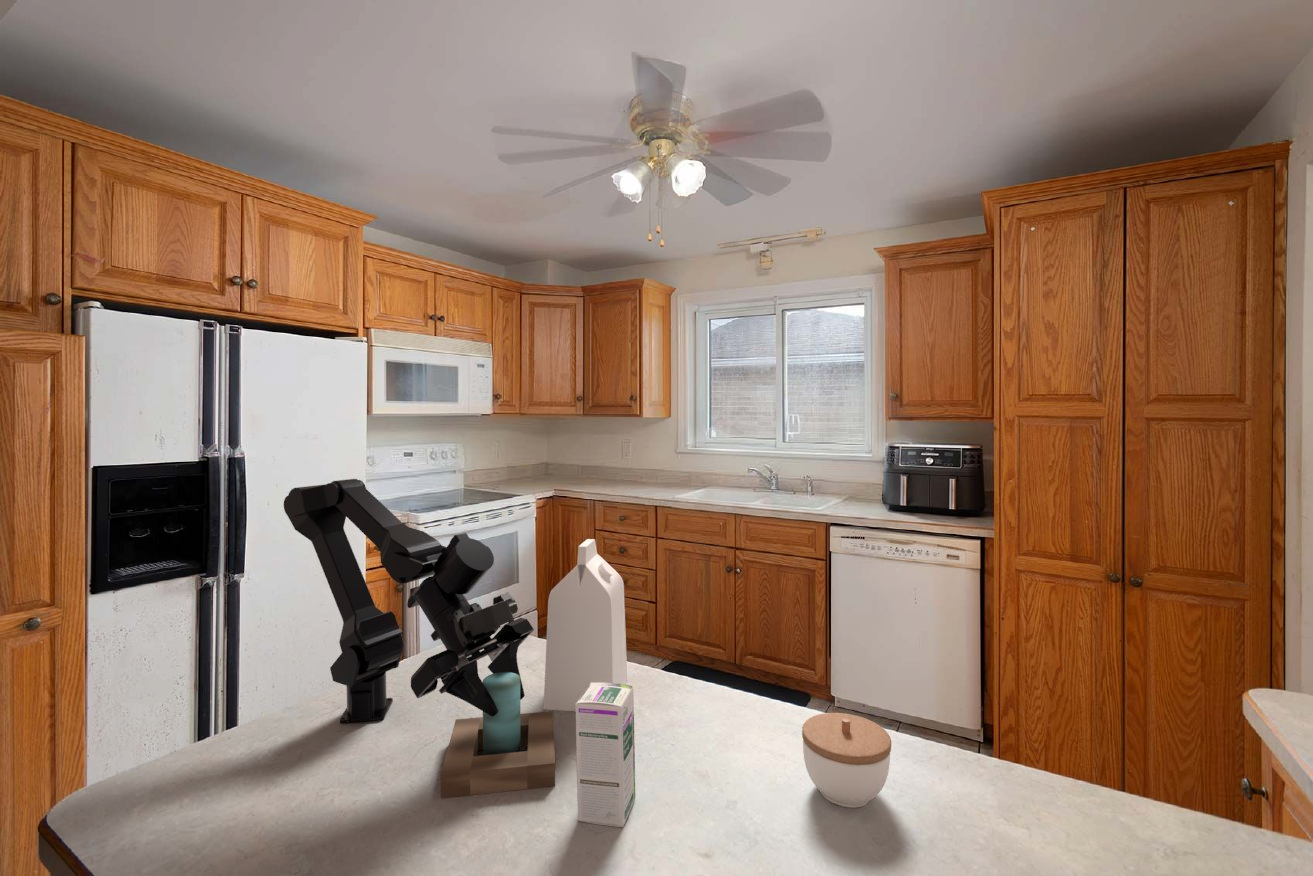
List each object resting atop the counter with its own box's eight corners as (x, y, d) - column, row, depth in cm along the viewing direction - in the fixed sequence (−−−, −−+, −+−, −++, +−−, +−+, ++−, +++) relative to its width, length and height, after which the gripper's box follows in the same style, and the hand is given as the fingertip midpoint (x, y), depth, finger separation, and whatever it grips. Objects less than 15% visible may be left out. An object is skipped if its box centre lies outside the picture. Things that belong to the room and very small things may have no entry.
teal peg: (475, 751, 85) (475, 680, 85) (507, 737, 89) (506, 668, 89) (496, 765, 82) (495, 691, 82) (527, 750, 86) (527, 679, 85)
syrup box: (624, 829, 72) (624, 705, 71) (575, 822, 73) (574, 701, 72) (635, 798, 77) (635, 684, 77) (590, 792, 79) (589, 680, 78)
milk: (564, 677, 112) (563, 534, 111) (627, 681, 111) (627, 536, 110) (543, 709, 100) (542, 549, 99) (613, 714, 99) (613, 552, 98)
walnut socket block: (456, 739, 91) (455, 719, 91) (552, 730, 94) (552, 711, 94) (441, 798, 77) (440, 774, 77) (555, 785, 80) (554, 763, 80)
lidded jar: (889, 777, 82) (890, 707, 82) (891, 829, 72) (893, 749, 71) (805, 762, 86) (806, 695, 85) (796, 809, 75) (797, 733, 75)
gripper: (424, 597, 78) (491, 703, 73) (523, 564, 94) (583, 650, 90) (383, 646, 82) (444, 750, 78) (485, 607, 99) (540, 691, 94)
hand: (509, 706), depth 85 cm, fingers closed on teal peg, 5 cm apart
